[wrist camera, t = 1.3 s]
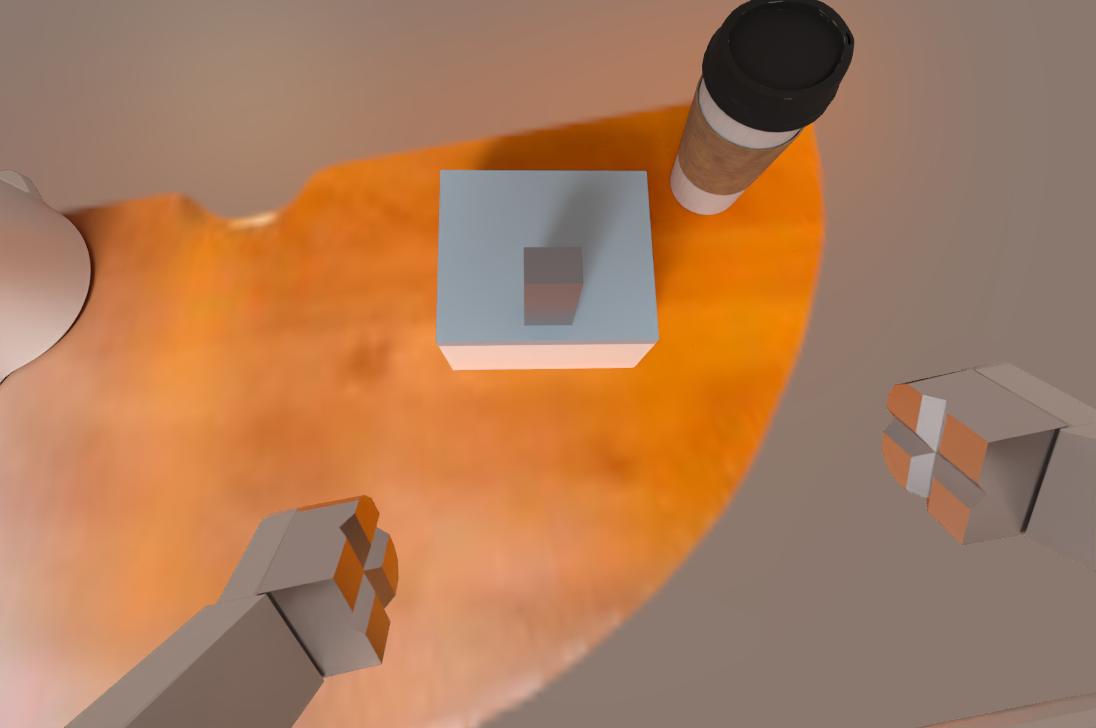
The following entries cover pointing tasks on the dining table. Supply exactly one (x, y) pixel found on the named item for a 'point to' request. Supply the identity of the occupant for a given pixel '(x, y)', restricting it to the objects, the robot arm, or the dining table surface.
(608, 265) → the lid
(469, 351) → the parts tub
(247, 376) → the dining table surface
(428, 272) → the dining table surface
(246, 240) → the dining table surface
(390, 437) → the dining table surface
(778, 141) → the coffee cup
